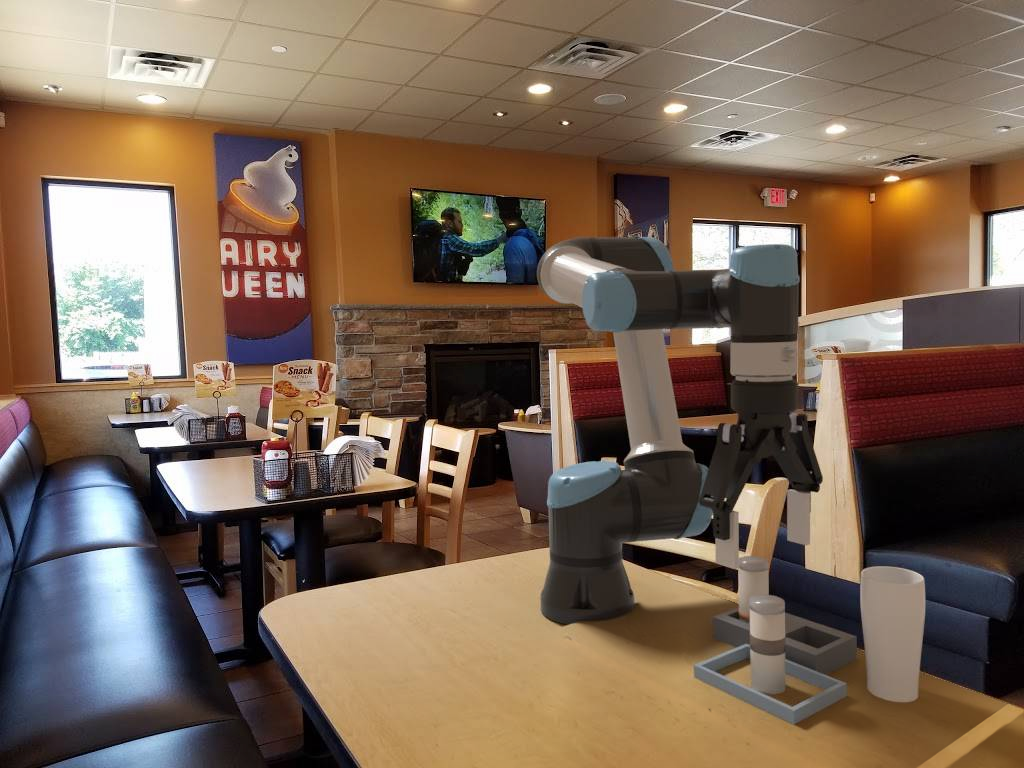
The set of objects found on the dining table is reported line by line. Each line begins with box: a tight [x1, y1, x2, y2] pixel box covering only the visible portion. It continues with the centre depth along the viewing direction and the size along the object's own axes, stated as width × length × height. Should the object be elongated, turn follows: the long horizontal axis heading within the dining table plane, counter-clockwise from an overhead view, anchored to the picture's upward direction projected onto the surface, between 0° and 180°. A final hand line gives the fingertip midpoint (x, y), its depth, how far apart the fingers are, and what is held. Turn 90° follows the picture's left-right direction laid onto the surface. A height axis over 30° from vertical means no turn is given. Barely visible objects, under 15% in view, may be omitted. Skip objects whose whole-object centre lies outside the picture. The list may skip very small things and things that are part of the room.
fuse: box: [737, 555, 770, 624], centre depth 102 cm, size 4×4×11 cm
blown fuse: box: [749, 594, 787, 695], centre depth 88 cm, size 4×4×11 cm
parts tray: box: [693, 644, 848, 725], centre depth 89 cm, size 14×10×2 cm
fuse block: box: [712, 606, 858, 675], centre depth 99 cm, size 16×9×4 cm, turn 34°
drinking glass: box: [859, 565, 926, 703], centre depth 86 cm, size 7×7×15 cm
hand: (764, 553), depth 88 cm, fingers open, 13 cm apart
